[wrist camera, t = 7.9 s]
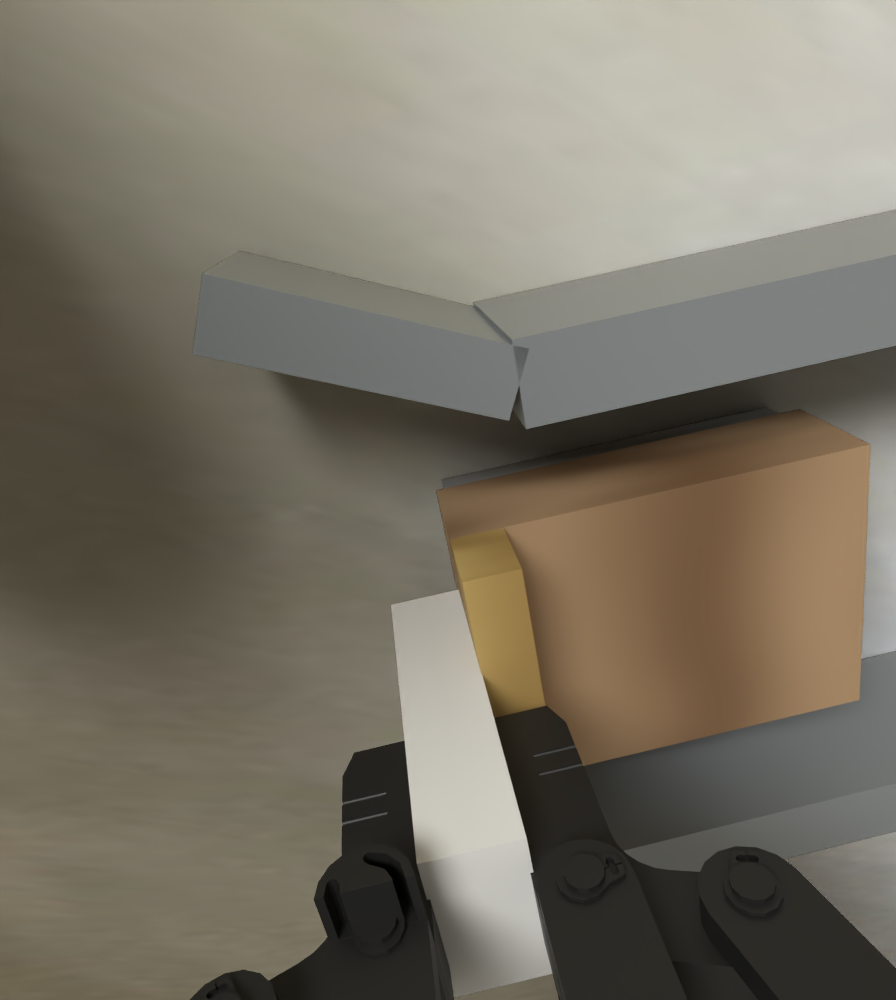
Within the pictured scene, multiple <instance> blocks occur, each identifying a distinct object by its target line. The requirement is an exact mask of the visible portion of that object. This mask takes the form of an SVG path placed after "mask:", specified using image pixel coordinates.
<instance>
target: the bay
mask: <svg viewBox="0 0 896 1000" xmlns="http://www.w3.org/2000/svg"><path fill="white" fill-rule="evenodd" d="M473 303H474V307H473V306H469V305H465V304H461V303H457V302H452V301H448V300H444V299H440V298H436V297H431V296H427V295H423V294H419V293H415V292H411V291H406V290H402V289H398V288H394V287H390V286H385V285H381V284H377V283H373V282H369V281H364V280H360V279H356V278H352V277H348V276H343V275H339V274H335V273H331V272H327V271H322V270H318V269H314V268H310V267H306V266H302V265H297V264H293V263H289V262H285V261H281V260H276V259H272V258H268V257H264V256H260V255H255V254H251V253H247V252H243V251H238V252H237V253H235V254H233V255H232V256H230V257H228V258H227V259H225V260H224V261H222V262H220V263H219V264H217V265H215V266H214V267H212V268H211V269H209V270H207V271H206V272H204V273H202V280H201V288H200V297H199V305H198V313H197V321H196V329H195V337H194V345H193V353H192V355H197V356H201V357H206V358H211V359H216V360H220V361H225V362H230V363H235V364H240V365H244V366H249V367H254V368H259V369H264V370H268V371H273V372H278V373H283V374H288V375H292V376H297V377H302V378H307V379H311V380H316V381H321V382H326V383H331V384H335V385H340V386H345V387H350V388H355V389H359V390H364V391H369V392H374V393H379V394H383V395H388V396H393V397H398V398H403V399H407V400H412V401H417V402H422V403H426V404H431V405H436V406H441V407H446V408H450V409H455V410H460V411H465V412H470V413H474V414H479V415H484V416H489V417H494V418H498V419H503V420H508V421H509V419H510V415H511V412H512V410H513V412H514V413H515V414H516V416H517V417H518V418H519V420H520V421H521V423H522V424H523V425H524V427H525V428H526V429H530V428H534V427H538V426H543V425H547V424H552V423H556V422H561V421H565V420H569V419H574V418H578V417H583V416H587V415H592V414H596V413H600V412H605V411H609V410H614V409H618V408H622V407H627V406H631V405H636V404H640V403H645V402H649V401H653V400H658V399H662V398H667V397H671V396H676V395H680V394H684V393H689V392H693V391H698V390H702V389H707V388H711V387H715V386H720V385H724V384H729V383H733V382H737V381H742V380H746V379H751V378H755V377H760V376H764V375H768V374H773V373H777V372H782V371H786V370H791V369H795V368H799V367H804V366H808V365H813V364H817V363H821V362H826V361H830V360H835V359H839V358H844V357H848V356H852V355H857V354H861V353H866V352H870V351H875V350H879V349H883V348H888V347H892V346H896V210H892V211H887V212H883V213H878V214H874V215H869V216H865V217H860V218H855V219H851V220H846V221H842V222H837V223H833V224H828V225H824V226H819V227H814V228H810V229H805V230H801V231H796V232H792V233H787V234H783V235H778V236H773V237H769V238H764V239H760V240H755V241H751V242H746V243H742V244H737V245H733V246H728V247H723V248H719V249H714V250H710V251H705V252H701V253H696V254H692V255H687V256H682V257H678V258H673V259H669V260H664V261H660V262H655V263H651V264H646V265H641V266H637V267H632V268H628V269H623V270H619V271H614V272H610V273H605V274H601V275H596V276H591V277H587V278H582V279H578V280H573V281H569V282H564V283H560V284H555V285H550V286H546V287H541V288H537V289H532V290H528V291H523V292H519V293H514V294H509V295H505V296H500V297H496V298H491V299H487V300H482V301H478V302H473ZM583 767H584V768H585V771H586V773H587V776H588V778H589V781H590V783H591V786H592V788H593V790H594V793H595V795H596V798H597V800H598V803H599V805H600V808H601V810H602V813H603V815H604V818H605V820H606V823H607V825H608V828H609V830H610V833H611V834H612V836H613V838H614V840H615V841H616V843H617V845H618V846H619V847H620V848H621V849H622V850H623V851H624V852H625V853H626V854H628V855H629V856H631V857H632V858H634V859H635V860H637V861H638V862H641V863H643V864H646V865H649V866H651V867H654V868H660V869H666V870H678V871H694V872H700V871H701V869H702V867H703V864H704V862H705V861H706V860H708V859H709V858H710V857H711V856H713V855H714V854H715V853H716V852H718V851H721V850H724V849H728V848H731V847H735V846H742V847H757V848H760V849H763V850H766V851H768V852H771V853H774V854H777V855H778V856H780V857H781V858H782V859H787V858H791V857H795V856H799V855H803V854H807V853H811V852H815V851H819V850H823V849H827V848H831V847H835V846H839V845H843V844H847V843H851V842H855V841H859V840H863V839H867V838H871V837H875V836H879V835H883V834H887V833H891V832H895V831H896V651H895V652H891V653H887V654H882V655H878V656H874V657H870V658H866V659H862V660H861V674H860V697H859V700H857V701H853V702H849V703H845V704H841V705H836V706H832V707H828V708H824V709H820V710H815V711H811V712H807V713H803V714H799V715H795V716H790V717H786V718H782V719H778V720H774V721H769V722H765V723H761V724H757V725H753V726H749V727H744V728H740V729H736V730H732V731H728V732H723V733H719V734H715V735H711V736H707V737H702V738H698V739H694V740H690V741H686V742H682V743H677V744H673V745H669V746H665V747H661V748H656V749H652V750H648V751H644V752H640V753H636V754H631V755H627V756H623V757H619V758H615V759H610V760H606V761H602V762H598V763H594V764H590V765H585V766H583Z"/></svg>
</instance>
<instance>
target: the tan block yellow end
mask: <svg viewBox="0 0 896 1000" xmlns="http://www.w3.org/2000/svg"><path fill="white" fill-rule="evenodd" d="M869 468H870V444H868V443H866V442H864V441H862V440H860V439H858V438H856V437H854V436H852V435H850V434H848V433H846V432H844V431H842V430H840V429H838V428H836V427H834V426H832V425H830V424H828V423H826V422H824V421H822V420H820V419H818V418H816V417H814V416H812V415H810V414H808V413H806V412H804V411H802V410H800V409H797V410H793V411H788V412H784V413H780V414H779V413H777V412H775V411H773V410H771V409H769V408H768V407H765V408H761V409H757V410H752V411H748V412H743V413H739V414H734V415H730V416H725V417H721V418H716V419H712V420H707V421H703V422H698V423H694V424H689V425H685V426H680V427H676V428H671V429H667V430H662V431H658V432H653V433H649V434H644V435H640V436H635V437H631V438H626V439H622V440H617V441H613V442H609V443H604V444H600V445H595V446H591V447H586V448H582V449H577V450H573V451H568V452H564V453H559V454H555V455H550V456H546V457H541V458H537V459H532V460H528V461H523V462H519V463H514V464H510V465H505V466H501V467H496V468H492V469H487V470H483V471H478V472H474V473H469V474H465V475H461V476H456V477H452V478H447V479H443V480H442V484H443V489H439V490H436V493H437V498H438V502H439V507H440V512H441V517H442V521H443V526H444V531H445V535H446V540H447V545H448V549H449V554H450V559H451V563H452V568H453V573H454V578H455V582H456V587H457V590H459V594H460V597H461V601H462V605H463V608H464V612H465V616H466V620H467V623H468V627H469V631H470V634H471V638H472V642H473V645H474V649H475V653H476V656H477V660H478V664H479V668H480V671H481V674H482V676H483V680H484V683H485V687H486V691H487V694H488V698H489V702H490V705H491V709H492V713H493V716H494V718H496V717H500V716H505V715H509V714H513V713H517V712H522V711H526V710H530V709H534V708H539V707H543V706H548V707H549V708H550V709H551V710H552V711H554V712H555V713H556V714H557V715H558V716H559V717H561V718H562V719H563V720H564V721H565V722H566V724H567V726H568V729H569V731H570V734H571V736H572V739H573V741H574V743H575V747H576V748H577V751H578V753H579V756H580V758H581V761H582V764H583V766H585V765H590V764H594V763H598V762H602V761H606V760H610V759H615V758H619V757H623V756H627V755H631V754H636V753H640V752H644V751H648V750H652V749H656V748H661V747H665V746H669V745H673V744H677V743H682V742H686V741H690V740H694V739H698V738H702V737H707V736H711V735H715V734H719V733H723V732H728V731H732V730H736V729H740V728H744V727H749V726H753V725H757V724H761V723H765V722H769V721H774V720H778V719H782V718H786V717H790V716H795V715H799V714H803V713H807V712H811V711H815V710H820V709H824V708H828V707H832V706H836V705H841V704H845V703H849V702H853V701H857V700H859V697H860V674H861V652H862V629H863V606H864V583H865V560H866V537H867V514H868V491H869Z"/></svg>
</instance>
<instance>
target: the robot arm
mask: <svg viewBox="0 0 896 1000" xmlns="http://www.w3.org/2000/svg"><path fill="white" fill-rule="evenodd" d="M391 609H392V619H393V629H394V639H395V649H396V659H397V670H398V680H399V690H400V700H401V710H402V720H403V730H404V740H405V741H402V742H398V743H394V744H389V745H385V746H381V747H377V748H372V749H368V750H364V751H360V752H355V753H354V755H353V757H352V759H351V761H350V763H349V765H348V767H347V769H346V771H345V773H344V775H343V787H342V802H343V806H342V823H343V826H342V856H341V857H340V858H339V859H338V860H336V861H335V862H334V863H333V864H331V865H330V866H329V867H328V869H327V870H326V872H325V873H324V875H323V876H322V878H321V879H320V880H319V882H318V886H317V890H316V893H315V897H314V901H315V904H316V907H317V909H318V912H319V915H320V917H321V920H322V923H323V925H324V928H325V931H326V933H327V936H328V937H327V939H326V940H325V941H324V942H323V943H322V945H321V946H320V947H319V948H318V949H317V950H316V951H315V952H314V953H313V954H311V955H310V956H308V957H307V958H306V959H304V960H303V961H301V962H300V963H298V964H297V965H295V966H293V967H291V968H290V969H288V970H286V971H285V972H283V973H281V974H279V975H278V976H276V977H274V978H273V979H271V980H269V981H268V980H267V979H266V978H265V977H264V976H263V975H261V974H260V973H256V972H252V971H247V970H240V971H235V972H230V973H225V974H223V975H221V976H219V977H218V978H216V979H214V980H212V981H211V982H209V983H207V984H205V985H204V986H203V987H202V988H201V989H200V990H199V991H198V992H197V993H196V994H195V995H194V996H193V997H192V998H191V999H190V1000H454V996H453V992H454V995H455V998H456V997H460V996H464V995H468V994H472V993H476V992H480V991H484V990H488V989H492V988H496V987H500V986H505V985H509V984H513V983H517V982H521V981H525V980H529V979H533V978H537V977H541V976H545V975H549V974H553V978H554V981H555V985H556V989H557V992H558V997H559V1000H896V968H895V967H894V966H893V965H892V964H891V963H890V962H889V961H888V960H887V959H886V958H885V957H884V956H883V955H882V954H881V953H880V952H879V951H878V950H877V949H876V948H875V947H874V946H873V945H872V944H871V943H870V942H869V941H868V940H867V939H866V938H865V937H864V936H863V935H862V934H861V933H860V932H859V931H858V930H857V929H856V928H855V927H854V926H853V925H852V924H851V923H850V922H849V921H848V920H847V919H846V918H845V917H844V916H843V915H842V914H841V913H840V912H839V911H838V910H837V909H836V908H835V907H834V906H833V905H832V904H831V903H830V902H829V901H828V900H827V899H826V898H825V897H824V896H823V895H822V894H821V893H820V892H819V891H818V890H817V889H816V888H815V887H814V886H813V885H812V884H811V883H810V882H809V881H808V880H807V879H806V878H805V877H804V876H803V875H802V874H801V873H800V872H799V871H798V870H797V869H796V868H795V867H793V866H792V865H791V864H789V863H788V862H786V861H785V860H784V859H782V858H781V857H780V856H778V855H777V854H774V853H771V852H768V851H766V850H763V849H760V848H757V847H742V846H735V847H731V848H728V849H724V850H721V851H718V852H716V853H715V854H714V855H713V856H711V857H710V858H709V859H708V860H706V861H705V862H704V864H703V867H702V869H701V871H700V872H694V871H678V870H666V869H660V868H654V867H651V866H649V865H646V864H643V863H641V862H638V861H637V860H635V859H634V858H632V857H631V856H629V855H628V854H626V853H625V852H624V851H623V850H622V849H621V848H620V847H619V846H618V845H617V843H616V841H615V840H614V838H613V836H612V834H611V833H610V830H609V828H608V825H607V823H606V820H605V818H604V815H603V813H602V810H601V808H600V805H599V803H598V800H597V798H596V795H595V793H594V790H593V788H592V786H591V783H590V781H589V778H588V776H587V773H586V771H585V768H584V767H583V764H582V761H581V758H580V756H579V753H578V751H577V748H576V747H575V743H574V741H573V739H572V736H571V734H570V731H569V729H568V726H567V724H566V722H565V721H564V720H563V719H562V718H561V717H559V716H558V715H557V714H556V713H555V712H554V711H552V710H551V709H550V708H549V707H548V706H543V707H539V708H534V709H530V710H526V711H522V712H517V713H513V714H509V715H505V716H500V717H496V718H494V716H493V713H492V709H491V705H490V702H489V698H488V694H487V691H486V687H485V683H484V680H483V676H482V674H481V671H480V668H479V664H478V660H477V656H476V653H475V649H474V645H473V642H472V638H471V634H470V631H469V627H468V623H467V620H466V616H465V612H464V608H463V605H462V601H461V597H460V594H459V590H454V591H450V592H446V593H441V594H437V595H433V596H428V597H424V598H419V599H415V600H410V601H406V602H402V603H397V604H393V605H391Z"/></svg>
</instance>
